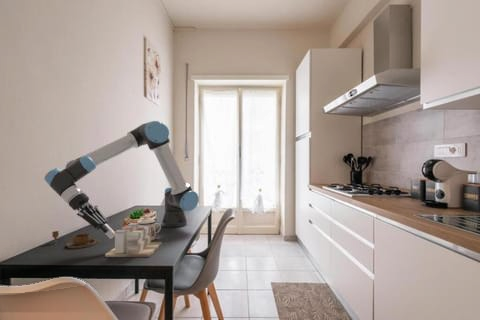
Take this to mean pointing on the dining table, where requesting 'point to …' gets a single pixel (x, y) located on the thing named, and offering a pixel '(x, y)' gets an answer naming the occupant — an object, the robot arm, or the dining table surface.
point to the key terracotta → (128, 229)
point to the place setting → (77, 240)
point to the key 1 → (120, 241)
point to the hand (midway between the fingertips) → (113, 236)
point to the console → (138, 244)
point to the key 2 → (134, 225)
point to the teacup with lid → (149, 222)
